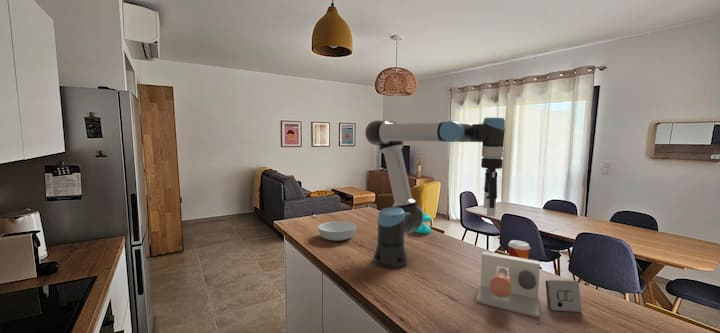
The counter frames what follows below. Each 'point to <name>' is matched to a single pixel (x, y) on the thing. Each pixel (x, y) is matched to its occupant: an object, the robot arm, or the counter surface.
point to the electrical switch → (563, 295)
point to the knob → (500, 284)
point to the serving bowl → (336, 230)
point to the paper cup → (518, 249)
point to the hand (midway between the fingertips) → (488, 212)
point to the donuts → (424, 226)
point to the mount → (522, 283)
